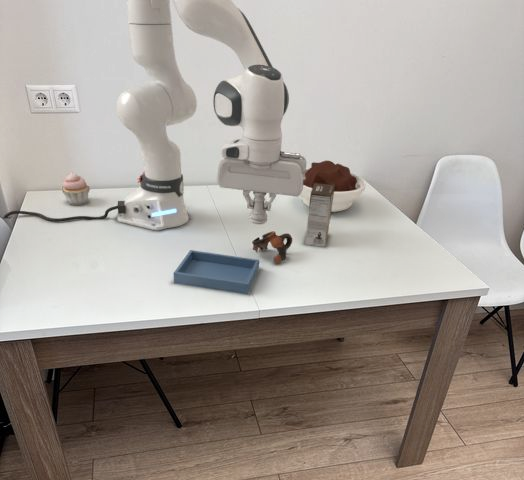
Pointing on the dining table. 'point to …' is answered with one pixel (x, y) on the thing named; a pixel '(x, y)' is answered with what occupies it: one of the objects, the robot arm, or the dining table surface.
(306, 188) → the bowl of brown lumps
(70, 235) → the dining table surface
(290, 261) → the dining table surface
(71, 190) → the cupcake
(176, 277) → the tray
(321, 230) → the coffee box
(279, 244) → the broken clay pot
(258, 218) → the rook chess piece
